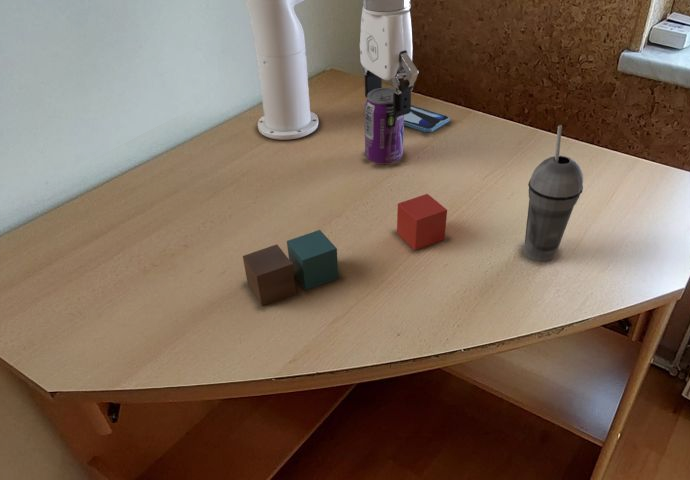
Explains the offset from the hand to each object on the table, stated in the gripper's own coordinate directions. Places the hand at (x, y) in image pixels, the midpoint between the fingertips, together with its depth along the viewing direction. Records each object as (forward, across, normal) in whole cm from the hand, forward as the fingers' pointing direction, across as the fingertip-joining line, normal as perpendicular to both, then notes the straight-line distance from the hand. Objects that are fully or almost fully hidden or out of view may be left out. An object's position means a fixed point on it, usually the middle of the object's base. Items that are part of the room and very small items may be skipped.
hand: (387, 105), depth 110 cm
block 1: (+10, +24, -34) cm, 43 cm away
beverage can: (+10, -1, 0) cm, 11 cm away
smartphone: (+10, -12, +12) cm, 20 cm away
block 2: (+11, +24, -27) cm, 38 cm away
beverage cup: (+11, +37, +5) cm, 39 cm away
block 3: (+11, +24, -8) cm, 28 cm away
